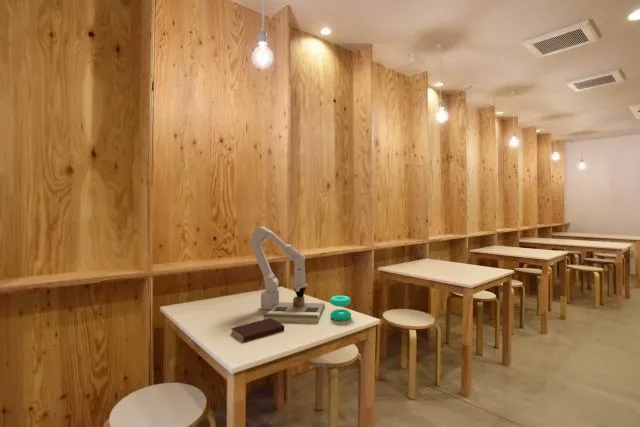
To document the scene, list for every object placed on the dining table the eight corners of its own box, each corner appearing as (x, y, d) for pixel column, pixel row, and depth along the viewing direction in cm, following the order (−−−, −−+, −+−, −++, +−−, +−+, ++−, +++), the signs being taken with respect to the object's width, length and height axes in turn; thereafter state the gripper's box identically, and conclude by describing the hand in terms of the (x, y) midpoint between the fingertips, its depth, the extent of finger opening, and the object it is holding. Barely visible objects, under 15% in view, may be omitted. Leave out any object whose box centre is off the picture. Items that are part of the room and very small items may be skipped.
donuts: (346, 301, 155) (326, 298, 160) (346, 322, 155) (326, 319, 160) (353, 295, 164) (335, 293, 168) (354, 316, 164) (335, 313, 169)
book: (284, 332, 146) (284, 324, 146) (243, 343, 134) (243, 335, 134) (270, 324, 156) (270, 317, 156) (230, 334, 144) (230, 327, 144)
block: (293, 306, 175) (293, 299, 175) (295, 304, 180) (295, 296, 180) (302, 307, 174) (302, 299, 174) (304, 304, 179) (304, 296, 179)
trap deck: (263, 321, 159) (263, 313, 159) (277, 305, 184) (277, 299, 184) (317, 322, 155) (317, 315, 155) (324, 307, 180) (324, 300, 180)
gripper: (304, 279, 173) (305, 305, 173) (309, 273, 187) (309, 298, 188) (291, 279, 174) (291, 305, 174) (297, 273, 188) (297, 297, 189)
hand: (300, 301), depth 181 cm, fingers closed
